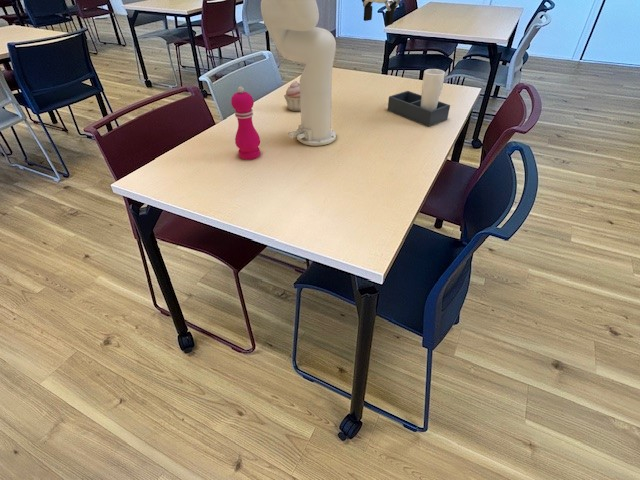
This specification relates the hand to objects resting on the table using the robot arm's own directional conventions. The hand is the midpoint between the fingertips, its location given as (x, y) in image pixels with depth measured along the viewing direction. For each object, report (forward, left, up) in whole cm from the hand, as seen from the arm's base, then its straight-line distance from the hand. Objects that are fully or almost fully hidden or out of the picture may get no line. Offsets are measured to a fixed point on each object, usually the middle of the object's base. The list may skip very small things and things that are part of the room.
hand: (377, 22), depth 125 cm
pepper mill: (-55, -5, -28) cm, 62 cm away
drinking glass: (+8, -20, -28) cm, 35 cm away
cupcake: (-22, +17, -28) cm, 40 cm away
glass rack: (+8, -15, -28) cm, 33 cm away
